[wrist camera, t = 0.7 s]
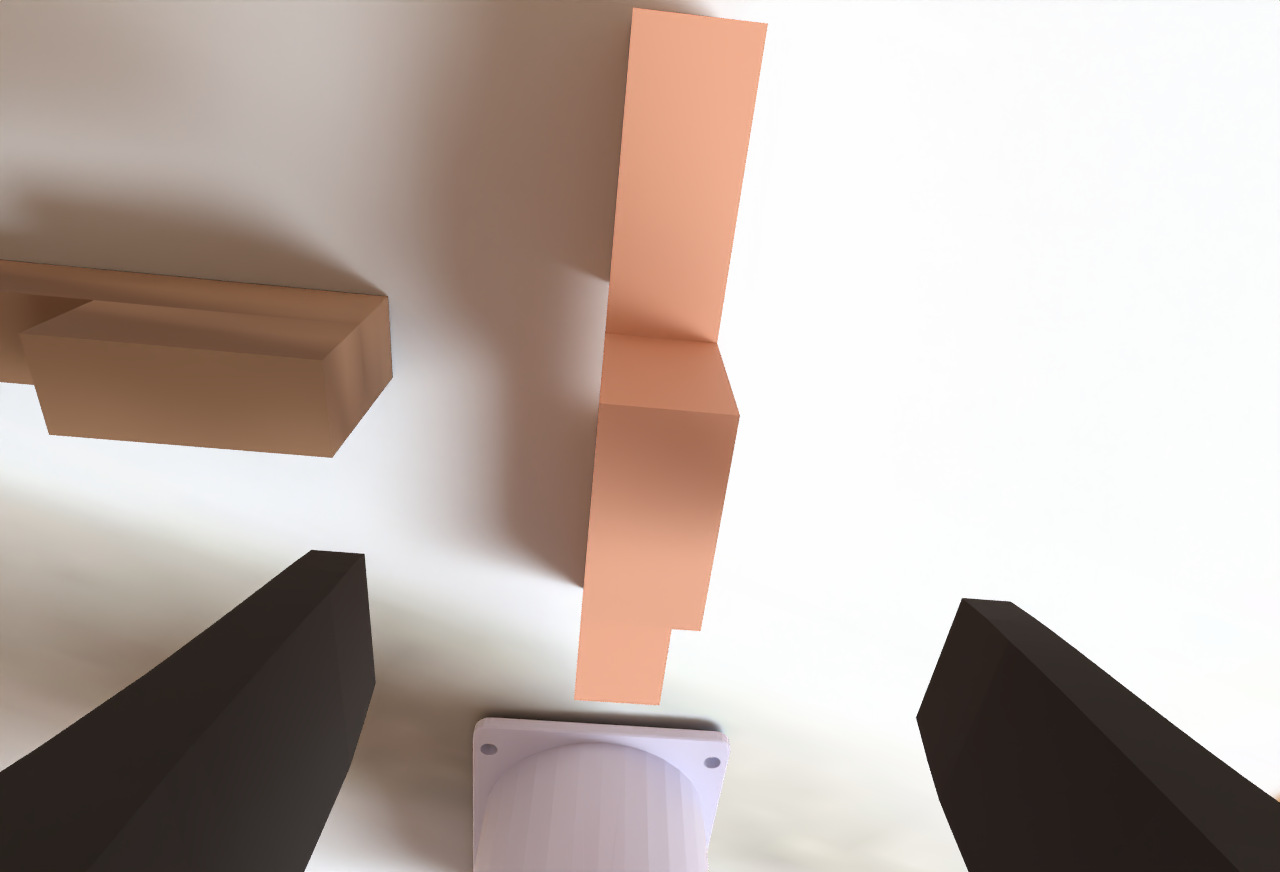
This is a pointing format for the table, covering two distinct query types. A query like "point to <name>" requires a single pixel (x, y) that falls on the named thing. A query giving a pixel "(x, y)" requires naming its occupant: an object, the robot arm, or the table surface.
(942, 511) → the table surface
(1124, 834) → the robot arm
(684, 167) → the salmon stepped block
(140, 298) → the walnut notched bar
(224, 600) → the table surface
